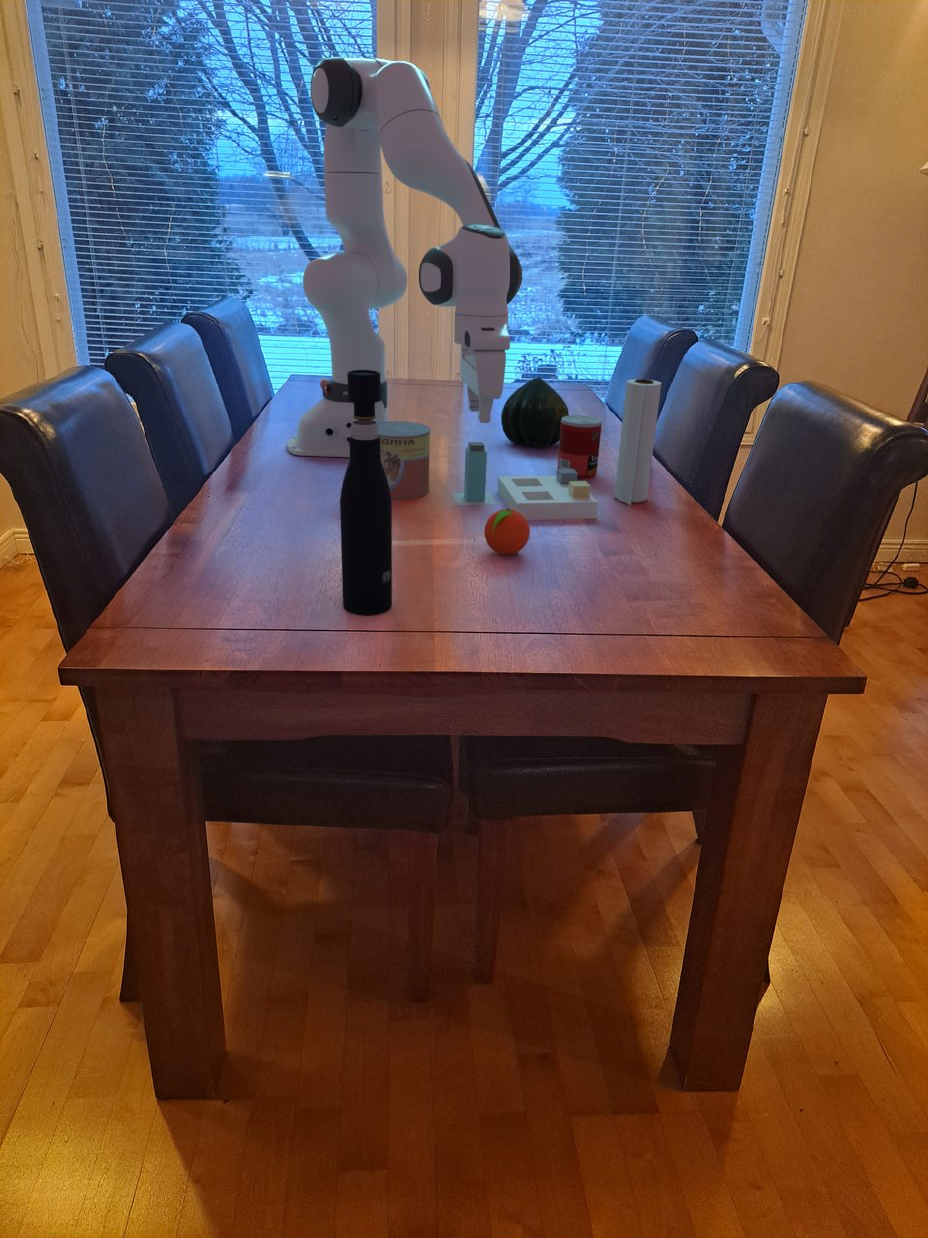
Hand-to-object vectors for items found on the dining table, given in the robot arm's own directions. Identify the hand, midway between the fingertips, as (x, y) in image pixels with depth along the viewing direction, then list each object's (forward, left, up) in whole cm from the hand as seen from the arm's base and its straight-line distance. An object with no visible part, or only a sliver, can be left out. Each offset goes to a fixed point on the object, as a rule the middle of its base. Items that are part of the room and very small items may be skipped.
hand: (478, 416), depth 151 cm
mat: (0, 0, -15) cm, 15 cm away
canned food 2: (+24, +17, -16) cm, 33 cm away
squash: (+21, +42, -16) cm, 50 cm away
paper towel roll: (+29, 0, -16) cm, 33 cm away
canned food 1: (-13, +6, -16) cm, 21 cm away
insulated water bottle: (-22, -43, -16) cm, 51 cm away
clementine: (0, -26, -16) cm, 30 cm away
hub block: (+12, -4, -15) cm, 20 cm away
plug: (0, 0, -15) cm, 15 cm away
